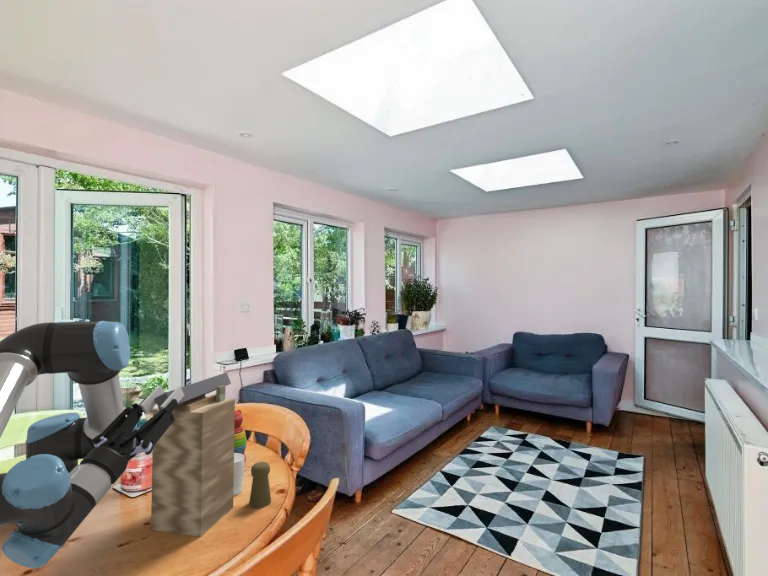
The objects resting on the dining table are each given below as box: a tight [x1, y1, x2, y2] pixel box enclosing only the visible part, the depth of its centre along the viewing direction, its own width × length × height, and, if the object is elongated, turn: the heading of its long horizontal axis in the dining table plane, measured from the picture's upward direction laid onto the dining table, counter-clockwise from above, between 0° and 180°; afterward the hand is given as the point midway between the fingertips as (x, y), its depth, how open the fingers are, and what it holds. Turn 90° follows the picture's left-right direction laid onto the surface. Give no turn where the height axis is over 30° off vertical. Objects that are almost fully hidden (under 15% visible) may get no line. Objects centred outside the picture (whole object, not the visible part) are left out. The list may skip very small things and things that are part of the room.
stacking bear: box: [234, 409, 248, 463], centre depth 143 cm, size 11×10×18 cm
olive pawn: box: [248, 461, 272, 509], centre depth 115 cm, size 6×6×11 cm
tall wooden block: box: [150, 385, 236, 538], centre depth 107 cm, size 14×14×34 cm
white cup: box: [233, 453, 245, 497], centre depth 121 cm, size 8×8×10 cm
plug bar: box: [155, 372, 232, 411], centre depth 107 cm, size 4×24×4 cm, turn 168°
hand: (171, 390), depth 98 cm, fingers closed on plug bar, 5 cm apart
